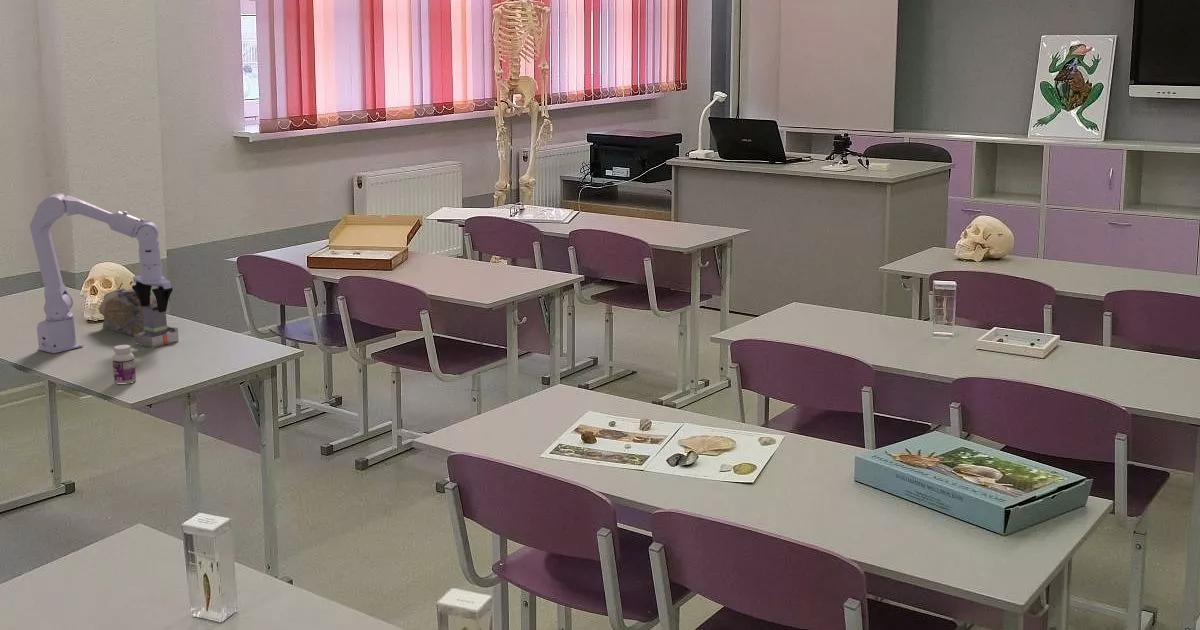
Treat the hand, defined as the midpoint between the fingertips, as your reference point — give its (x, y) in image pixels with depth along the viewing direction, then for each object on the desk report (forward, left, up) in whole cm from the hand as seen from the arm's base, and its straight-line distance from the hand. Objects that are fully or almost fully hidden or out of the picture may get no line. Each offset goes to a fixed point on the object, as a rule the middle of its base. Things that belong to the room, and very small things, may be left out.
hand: (154, 310), depth 351 cm
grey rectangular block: (0, 0, -7) cm, 7 cm away
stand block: (0, 0, -10) cm, 10 cm away
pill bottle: (-30, -27, -10) cm, 42 cm away
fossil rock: (+5, +19, -10) cm, 22 cm away
